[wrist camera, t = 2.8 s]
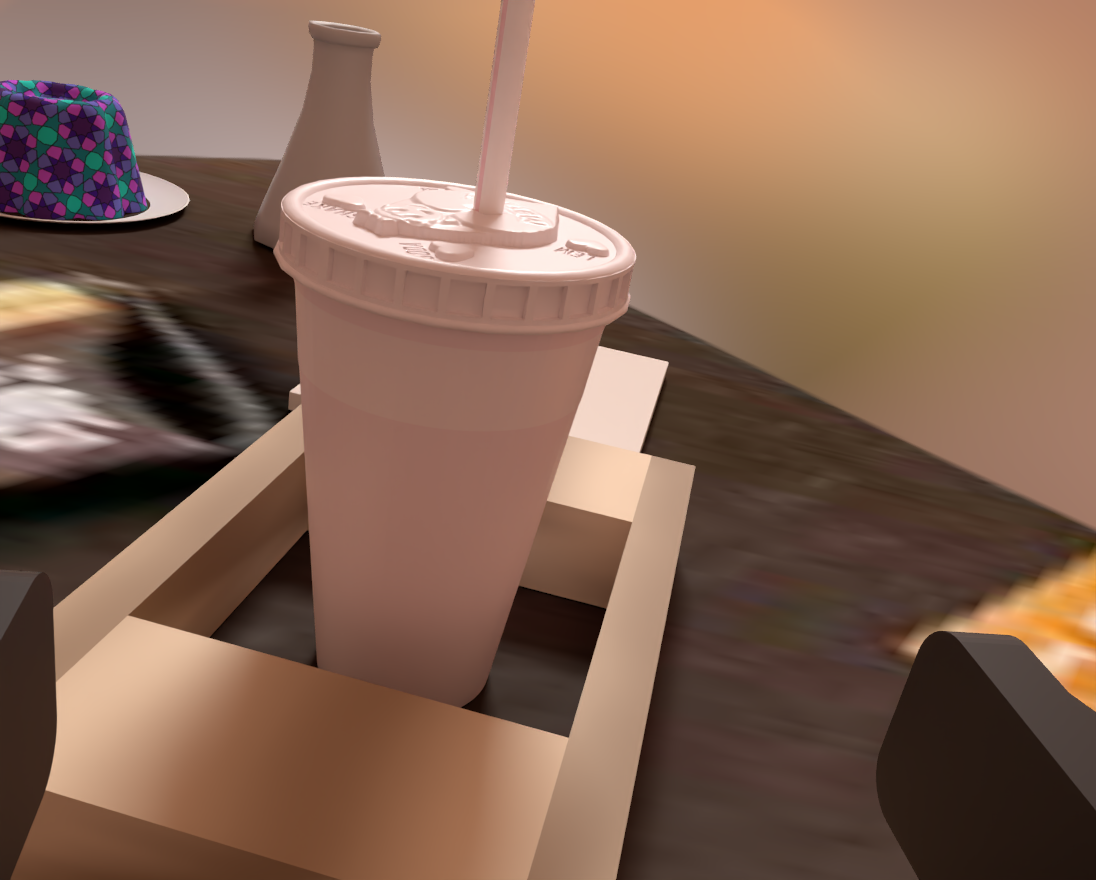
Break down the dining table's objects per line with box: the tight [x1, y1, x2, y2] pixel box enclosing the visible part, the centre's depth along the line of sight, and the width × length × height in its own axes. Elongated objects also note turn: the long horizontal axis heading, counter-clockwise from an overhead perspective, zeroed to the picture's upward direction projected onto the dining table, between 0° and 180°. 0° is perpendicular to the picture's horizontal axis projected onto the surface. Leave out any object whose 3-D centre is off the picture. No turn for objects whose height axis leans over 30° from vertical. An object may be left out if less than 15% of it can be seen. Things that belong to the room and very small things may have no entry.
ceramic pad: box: [288, 346, 669, 453], centre depth 37 cm, size 11×11×1 cm
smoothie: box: [273, 0, 636, 708], centre depth 20 cm, size 6×6×14 cm
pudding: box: [0, 80, 189, 224], centre depth 49 cm, size 12×12×5 cm
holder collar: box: [10, 404, 695, 880], centre depth 22 cm, size 10×16×2 cm, turn 168°
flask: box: [254, 21, 385, 249], centre depth 48 cm, size 7×7×10 cm
